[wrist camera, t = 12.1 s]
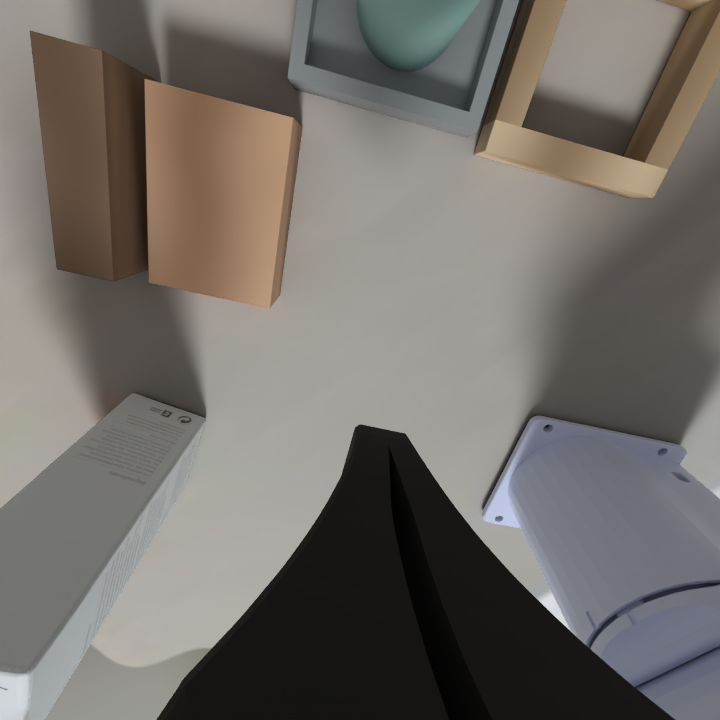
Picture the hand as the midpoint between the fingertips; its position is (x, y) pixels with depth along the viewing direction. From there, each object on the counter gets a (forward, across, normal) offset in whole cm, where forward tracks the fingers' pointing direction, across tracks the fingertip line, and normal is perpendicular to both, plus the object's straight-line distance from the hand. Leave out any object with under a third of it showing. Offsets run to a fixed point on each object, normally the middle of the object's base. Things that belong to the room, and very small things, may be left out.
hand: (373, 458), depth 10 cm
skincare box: (+10, +10, +9) cm, 17 cm away
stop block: (+9, +11, -5) cm, 15 cm away
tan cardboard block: (+10, +7, -4) cm, 13 cm away
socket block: (+9, -6, -12) cm, 16 cm away
